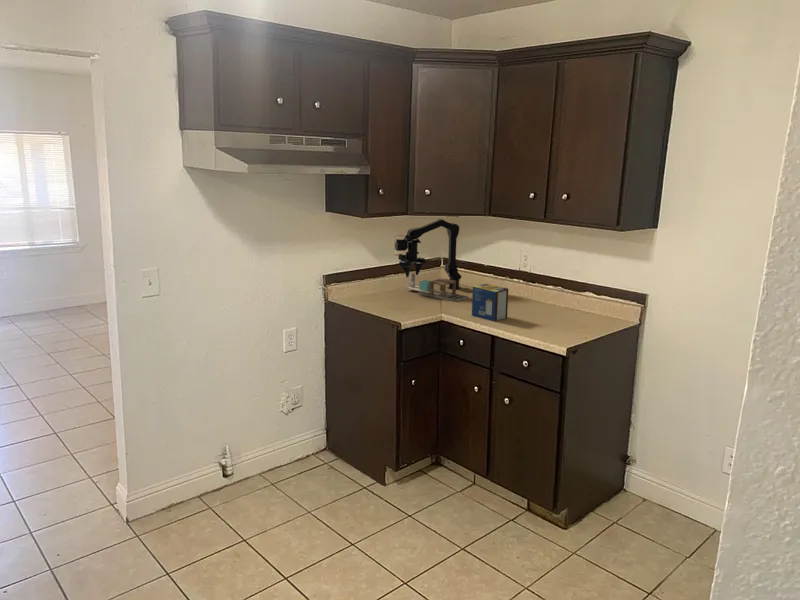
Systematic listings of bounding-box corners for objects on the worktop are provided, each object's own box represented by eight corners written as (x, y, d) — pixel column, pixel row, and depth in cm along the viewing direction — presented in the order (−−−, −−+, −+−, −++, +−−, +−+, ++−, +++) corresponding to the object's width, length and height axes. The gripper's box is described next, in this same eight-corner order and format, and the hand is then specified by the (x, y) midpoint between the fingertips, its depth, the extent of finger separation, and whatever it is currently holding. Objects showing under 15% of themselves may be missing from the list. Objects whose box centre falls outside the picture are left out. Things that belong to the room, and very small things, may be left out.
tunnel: (430, 290, 375) (430, 276, 373) (467, 297, 359) (468, 282, 356) (417, 294, 366) (418, 279, 364) (456, 301, 349) (456, 286, 347)
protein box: (484, 312, 328) (485, 283, 325) (507, 318, 317) (509, 288, 314) (470, 315, 322) (472, 286, 318) (494, 321, 311) (495, 291, 307)
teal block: (425, 288, 373) (425, 279, 372) (433, 289, 369) (433, 281, 368) (419, 289, 369) (419, 281, 367) (427, 291, 365) (427, 282, 364)
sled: (414, 286, 380) (414, 272, 377) (446, 292, 365) (447, 278, 363) (406, 288, 374) (406, 274, 371) (438, 294, 359) (439, 280, 357)
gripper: (411, 247, 382) (411, 272, 386) (392, 250, 368) (391, 276, 372) (426, 249, 375) (425, 274, 379) (406, 252, 361) (406, 279, 365)
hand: (412, 276), depth 374 cm, fingers open, 9 cm apart
